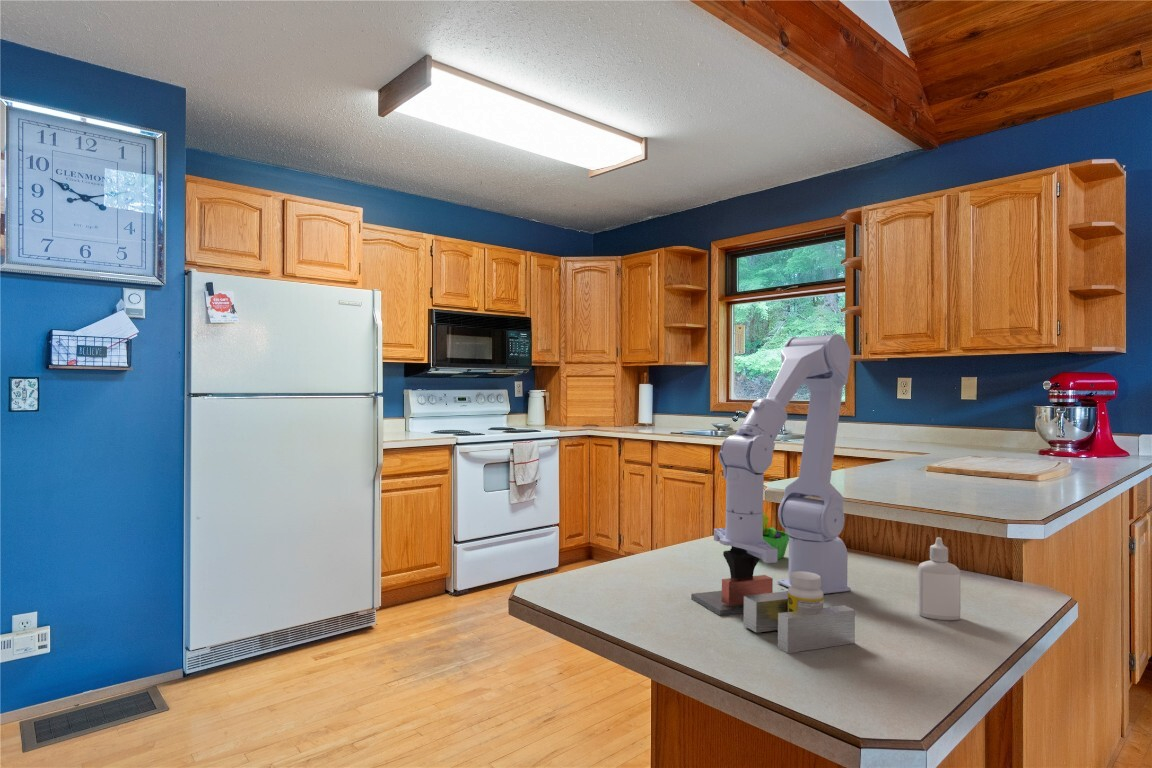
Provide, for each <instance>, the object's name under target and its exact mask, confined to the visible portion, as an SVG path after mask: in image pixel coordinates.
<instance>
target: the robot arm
mask: <svg viewBox="0 0 1152 768" xmlns="http://www.w3.org/2000/svg"><path fill="white" fill-rule="evenodd" d="M780 357H781V358H780V359H781V362H782V363H781V366H780V368H779V370H778V372H777V374H776V376H775V377H774V380H773V382H772V384H771V387H770V389H769V390H768V392H767V395H766V397H764V398H759V399H756V401H754V402H753V403H752V405H751V408H750V409H749V412H747V415H746V417H744V419H743V421H742V423H741V425H740V426H739V428H738V430H737V431H736V432H735V434H731V435H729V436H728V437H727V438H725V439H724V440H723V442H722V443H721V446H720V451H718V459H719V463H720V465H721V466H722V470H723V471H722V473H723V474H722V475H723V477H724V478H723V479H724V480H725V481H726V482H725V483H726V487H725V489H726V490H725V528H724V527H722V528H720V527H719V528H713V540H714V541H715V542H719V544H720V545H723V546H730V547H731V548H730V549H729V550H724V551H723V554H722V556H723V558H724V559H725V561H726V562H727V565H728V567H729V573H730V578H742V577H753V576H754V572H755V568H756V566H757V565H758V562H759V561H760V560H762V562H763V563H765V564H773V563H778V560H777V555H778V550H777V549H775V548H773V547H772V546H770V545H769V544H768V543H767V542H766V541H765V540H763V539H762V538H763V512H764V486H765V485H764V481H765V479H764V477H765V473H766V471H767V470H768V469H769V468H770V467H771V465H772V462H773V457H774V450H775V446H776V443H775V441H776V438H777V437H778V435H779V434H780V432H781V430H782V428H783V427H784V425H785V423H786V422H787V419H788V413H787V410H786V407H787V406H788V405H789V403H790V402H791V400H792V399H793V397H794V396H795V395H796V393H797V392H798V391H799V388H800V387H801V386H805V387H807V388H808V390H809V393H810V397H809V401H808V409H807V417H806V423H805V429H804V430H805V432H804V438H803V443H802V444H803V445H802V452H801V458H800V466H799V472H798V473H799V474H798V477H797V479H795V480H794V481H792V482H790V483H789V484H787V486H785V489H784V493H783V497H782V499H781V501H780V503H779V506H778V510H777V511H778V512H777V514H778V515H777V517H778V522H779V523H780V526H781V527H782V528H783V529H784V532H785V534H788V535H789V541H788V575H787V576H788V577H787V578H785V579H777V584H780V585H782V586H784V587H786V588H788V589H789V587H790V586H792V585H791V584H790V583H791V582H790V577H791V573H792V572H797V571H803V572H810V573H815V574H817V575H819V576H820V577H821V587H820V588H819V589H821V591H822V592H823V595H824V594H825V595H826V594H834V593H841V592H842V593H843V592H850V591H851V590H852V587H850V586H848V560H849V558H848V550H847V547H846V545H845V542H844V541H843V539H841V538H840V537H839V535H840V534H841V533H842V531H843V529H844V526H845V520H846V519H845V513H844V499H845V498H844V496H843V494H841V492H839V491H838V490H837V489H836V487H835V486H833V484H832V483H831V477H832V470H833V464H834V456H835V448H836V441H837V433H838V426H839V419H840V414H841V413H840V412H841V411H840V410H841V404H842V397H843V396H842V395H843V389H844V386H845V385H847V384H848V378H849V371H850V364H851V357H852V352H851V349H850V347H849V344H848V342H847V340H846V339H845V337H844V336H843V335H841V334H840V333H833V334H831V335H830V334H828V335H820V336H819V335H817V336H804V337H803V336H800V337H798V336H791V337H790V338H788V339H787V340H786V341H785V344H784V346H783V348H782V349H781V351H780ZM809 497H812V498H809ZM813 497H814V498H813ZM816 498H821V499H816Z"/></svg>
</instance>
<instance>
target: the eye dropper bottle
mask: <svg viewBox="0 0 1152 768" xmlns="http://www.w3.org/2000/svg"><path fill="white" fill-rule="evenodd" d="M943 543H944V542H943V539H942V537H939V536H938V537H936V538H935V543H934V544H931V545H930V546H929V559H930V560H925V561H923V562H920V563H919V564H918V566H917V595H916V596H917V612H918V613H919V615H920V616H922V618H926V619H930V620H931V619H932V620H940V621H959V620H960V619H961V570H960V568H959V567H957V566H956V564H953V563H951V562H948V561H949V547H947V546H945V545H944V544H943Z"/></svg>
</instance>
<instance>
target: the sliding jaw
mask: <svg viewBox="0 0 1152 768" xmlns="http://www.w3.org/2000/svg"><path fill="white" fill-rule="evenodd" d="M773 580H774V579H773V577H770V576H769V575H766V574H761V575H759V574H758V575H753V577H742V578H731V577H730V578H721V591H722V602H723V603H725V604H727V605H729V606H730V605H739V604H744V613H743V626H744V627H745V628H748V629H749V630H751V631H752V632H755V633H757V634H758V633H762V632H764V633H765V632H771V631H778V613H785V612H788V590H786V591H785V590H784V591H777V592H776V591H775V592H773V582H774V581H773Z"/></svg>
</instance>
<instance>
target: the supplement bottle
mask: <svg viewBox="0 0 1152 768" xmlns="http://www.w3.org/2000/svg"><path fill="white" fill-rule="evenodd" d="M790 582H791V583H790V584H791V585H792V586H790V587H789V588H788V589H787V591H788V612H793V611H801V610H809V609H818V608H824V594H823V592H822V591H821V589H819V588H820V587H821V577H820V576H819V575H817V574H815V573H810V572H803V571H797V572H792V573H791V577H790Z"/></svg>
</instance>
